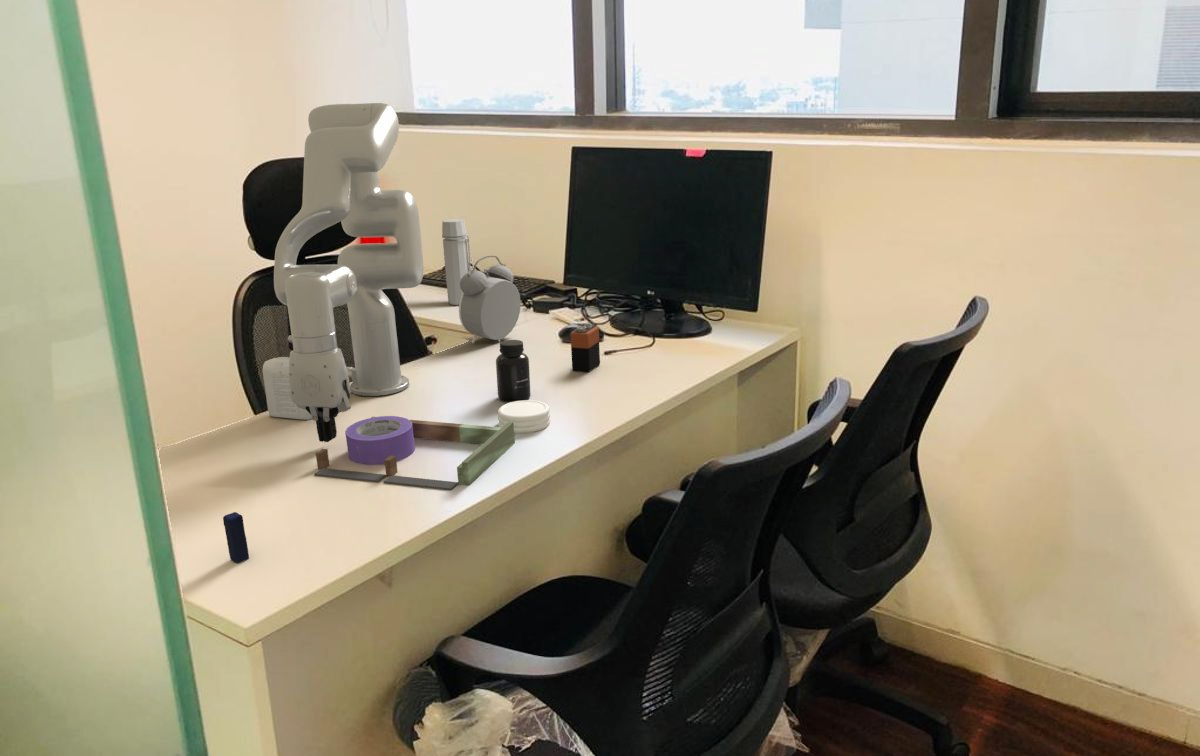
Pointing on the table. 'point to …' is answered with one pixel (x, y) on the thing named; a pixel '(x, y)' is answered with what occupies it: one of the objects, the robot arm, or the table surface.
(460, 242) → the water bottle
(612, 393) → the table surface
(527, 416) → the coaster
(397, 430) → the tape roll
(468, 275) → the alarm clock
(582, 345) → the battery
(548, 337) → the table surface
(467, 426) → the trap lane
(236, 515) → the eraser
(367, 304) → the robot arm
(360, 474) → the mats
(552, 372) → the table surface
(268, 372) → the photo printer
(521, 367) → the supplement bottle
